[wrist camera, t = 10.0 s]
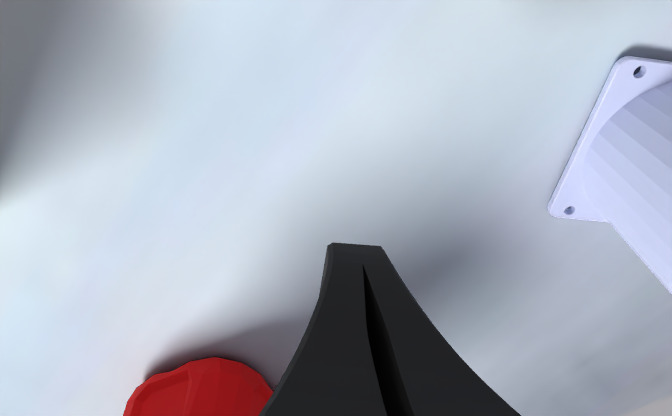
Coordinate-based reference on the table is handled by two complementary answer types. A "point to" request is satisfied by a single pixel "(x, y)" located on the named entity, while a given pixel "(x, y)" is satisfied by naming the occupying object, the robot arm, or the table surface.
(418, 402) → the robot arm
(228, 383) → the water bottle
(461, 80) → the table surface
